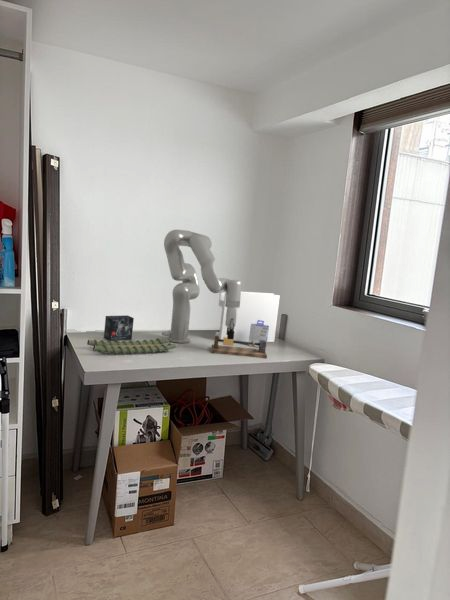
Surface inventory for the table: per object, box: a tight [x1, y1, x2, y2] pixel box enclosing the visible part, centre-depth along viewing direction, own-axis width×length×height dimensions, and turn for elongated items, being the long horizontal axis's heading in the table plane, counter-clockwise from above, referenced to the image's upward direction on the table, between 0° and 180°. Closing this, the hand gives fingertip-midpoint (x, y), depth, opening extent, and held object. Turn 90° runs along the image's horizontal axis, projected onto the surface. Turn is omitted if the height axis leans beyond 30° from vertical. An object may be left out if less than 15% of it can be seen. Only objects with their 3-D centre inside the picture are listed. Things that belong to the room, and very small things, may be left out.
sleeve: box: [222, 337, 234, 347], centre depth 240 cm, size 5×4×4 cm
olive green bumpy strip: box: [86, 337, 178, 355], centre depth 222 cm, size 41×14×5 cm, turn 120°
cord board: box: [211, 335, 268, 359], centre depth 240 cm, size 28×12×8 cm, turn 92°
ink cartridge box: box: [247, 320, 269, 348], centre depth 259 cm, size 10×6×14 cm, turn 78°
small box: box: [103, 314, 135, 342], centre depth 241 cm, size 13×7×12 cm, turn 131°
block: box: [214, 291, 281, 343], centre depth 271 cm, size 35×8×28 cm, turn 114°
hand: (229, 336), depth 239 cm, fingers open, 9 cm apart
